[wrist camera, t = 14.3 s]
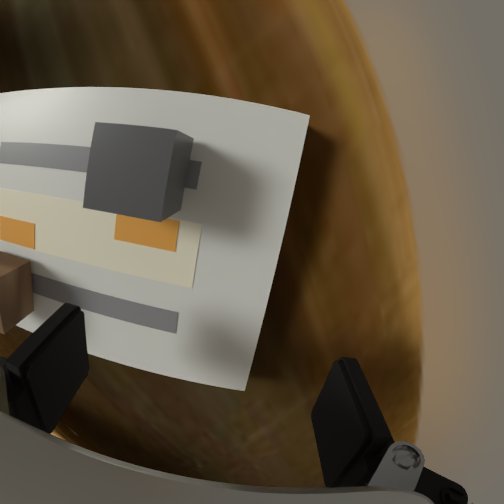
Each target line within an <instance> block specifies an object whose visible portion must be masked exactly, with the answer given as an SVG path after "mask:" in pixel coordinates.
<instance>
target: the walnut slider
mask: <svg viewBox="0 0 504 504" xmlns="http://www.w3.org/2000/svg"><path fill="white" fill-rule="evenodd" d="M33 311H34V303H33V292H32V278H31V261H30V260H27V259H24V258H20V257H17V256H14V255H11V254H8V253H5V252H2V251H0V333H2V334H5V333H7V332H8V331H9V330H10V329H11V328H13V327H14V326H15V325H16V324H18V323H19V322H20V321H21V320H23V319H24V318H25V317H26V316H28V315H29V314H30V313H31V312H33Z"/></svg>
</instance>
